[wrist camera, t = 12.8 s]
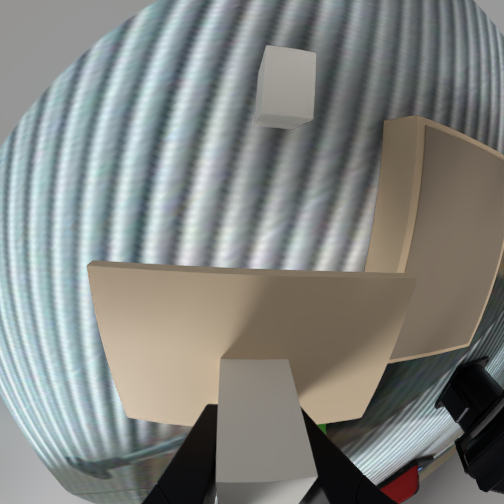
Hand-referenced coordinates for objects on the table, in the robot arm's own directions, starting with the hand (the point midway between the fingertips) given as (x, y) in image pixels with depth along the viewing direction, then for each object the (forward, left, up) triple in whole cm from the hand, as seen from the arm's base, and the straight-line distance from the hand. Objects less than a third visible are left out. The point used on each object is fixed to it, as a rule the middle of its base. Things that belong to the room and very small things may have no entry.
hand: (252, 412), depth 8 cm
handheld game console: (-29, +39, -9) cm, 49 cm away
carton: (-12, -4, -9) cm, 16 cm away
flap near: (0, -1, -1) cm, 2 cm away
